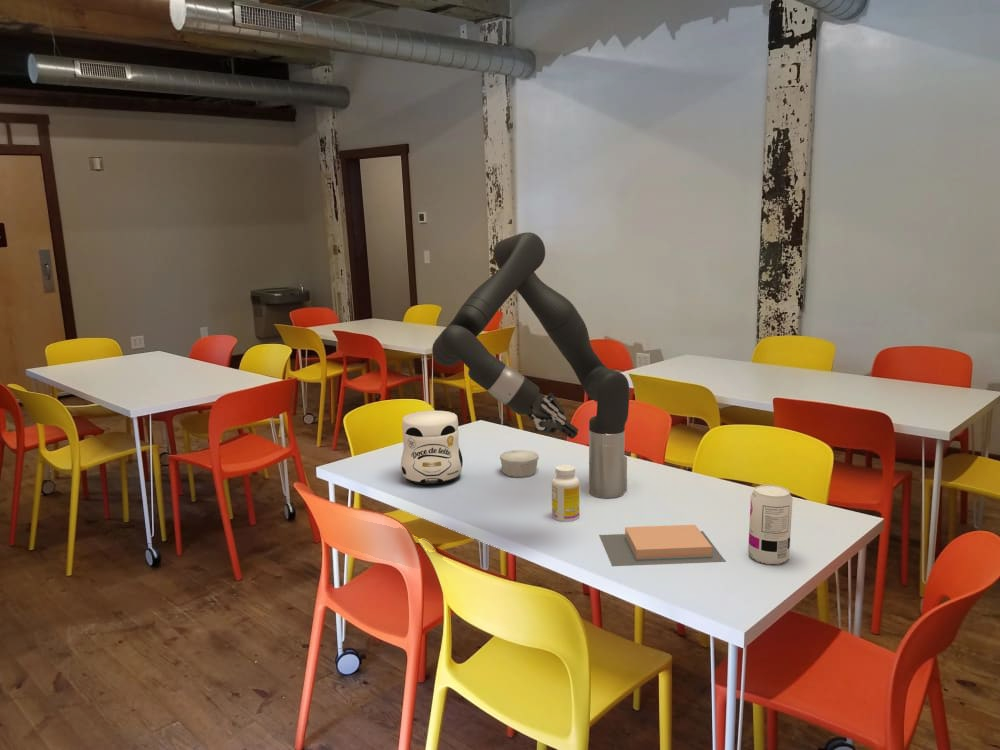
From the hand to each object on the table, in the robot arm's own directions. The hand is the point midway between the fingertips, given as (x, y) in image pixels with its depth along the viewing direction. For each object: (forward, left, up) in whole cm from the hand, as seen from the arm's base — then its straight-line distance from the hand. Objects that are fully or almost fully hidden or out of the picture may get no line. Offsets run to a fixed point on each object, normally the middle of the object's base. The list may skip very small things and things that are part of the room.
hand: (575, 434), depth 170 cm
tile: (-5, +13, -23) cm, 26 cm away
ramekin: (-19, -44, -25) cm, 54 cm away
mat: (-10, +16, -24) cm, 31 cm away
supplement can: (-24, +34, -25) cm, 48 cm away
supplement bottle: (-6, -10, -25) cm, 27 cm away
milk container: (+3, -56, -25) cm, 62 cm away
